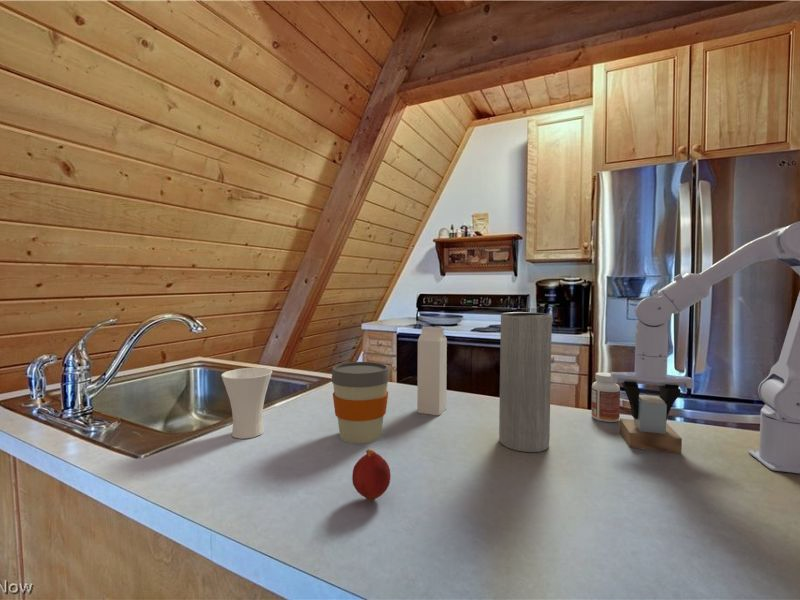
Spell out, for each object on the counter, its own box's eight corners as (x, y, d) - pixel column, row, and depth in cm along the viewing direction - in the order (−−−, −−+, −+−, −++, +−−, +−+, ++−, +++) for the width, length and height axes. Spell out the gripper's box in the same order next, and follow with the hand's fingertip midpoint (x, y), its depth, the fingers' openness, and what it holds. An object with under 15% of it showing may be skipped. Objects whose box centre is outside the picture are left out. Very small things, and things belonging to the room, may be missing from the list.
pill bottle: (624, 419, 96) (625, 375, 95) (611, 424, 92) (612, 378, 92) (599, 412, 101) (600, 370, 100) (586, 417, 97) (587, 373, 97)
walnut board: (665, 436, 85) (666, 422, 85) (681, 453, 77) (681, 438, 77) (619, 431, 88) (619, 418, 88) (629, 447, 80) (629, 432, 79)
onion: (371, 485, 64) (371, 437, 64) (398, 498, 60) (398, 447, 60) (344, 501, 60) (344, 449, 59) (372, 515, 56) (371, 460, 55)
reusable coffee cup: (321, 443, 81) (321, 371, 80) (344, 422, 93) (344, 360, 92) (379, 449, 78) (380, 375, 77) (395, 427, 90) (395, 363, 89)
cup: (274, 438, 83) (273, 376, 83) (220, 446, 79) (219, 380, 79) (271, 422, 93) (270, 366, 93) (223, 428, 89) (222, 369, 89)
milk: (425, 406, 106) (425, 325, 105) (446, 409, 103) (447, 326, 103) (416, 412, 100) (417, 327, 100) (439, 416, 98) (440, 328, 97)
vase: (531, 457, 75) (534, 316, 73) (489, 441, 82) (491, 313, 81) (558, 444, 81) (561, 314, 80) (516, 430, 89) (518, 311, 88)
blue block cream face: (658, 426, 83) (659, 395, 83) (665, 433, 79) (666, 402, 79) (634, 423, 85) (634, 393, 84) (639, 431, 80) (640, 399, 80)
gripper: (684, 353, 83) (682, 416, 84) (608, 349, 88) (606, 409, 88) (698, 359, 76) (695, 427, 77) (615, 354, 81) (613, 419, 82)
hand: (648, 418), depth 82 cm, fingers closed on blue block cream face, 4 cm apart
